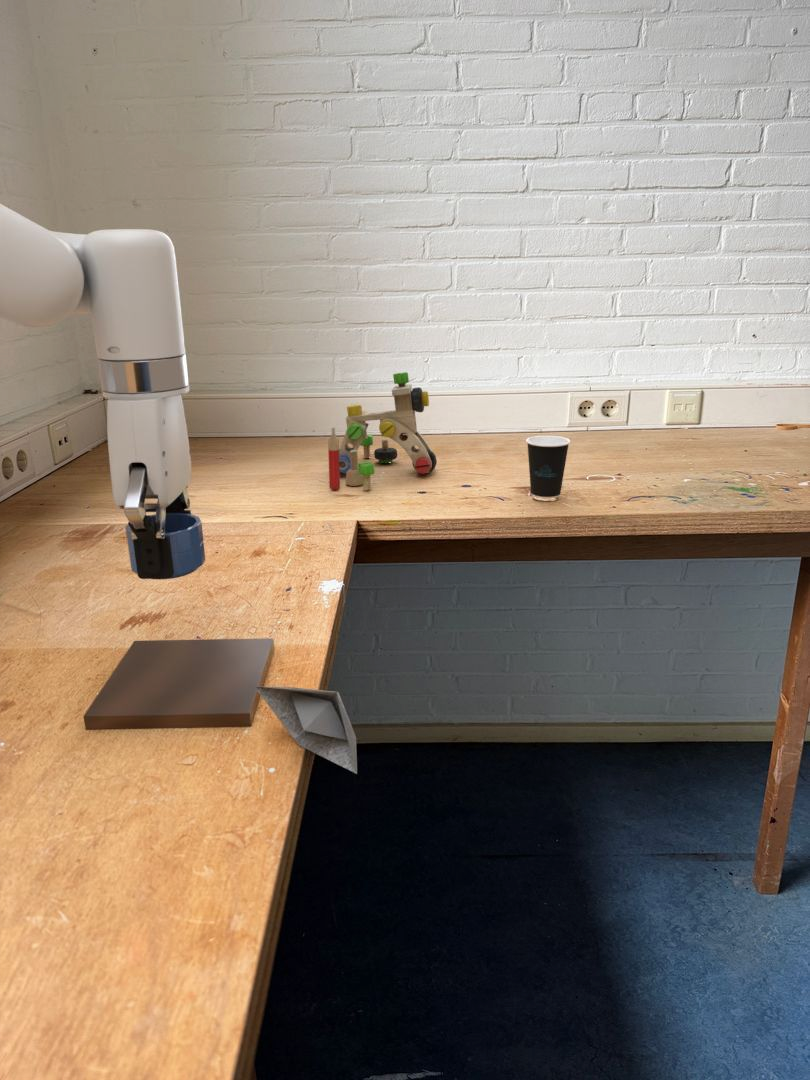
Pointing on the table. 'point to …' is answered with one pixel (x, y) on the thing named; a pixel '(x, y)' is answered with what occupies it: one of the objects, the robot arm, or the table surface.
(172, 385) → the robot arm
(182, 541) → the bowl
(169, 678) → the board
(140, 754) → the table surface
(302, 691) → the paper boat
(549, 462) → the dixie cup
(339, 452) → the toy construction set
